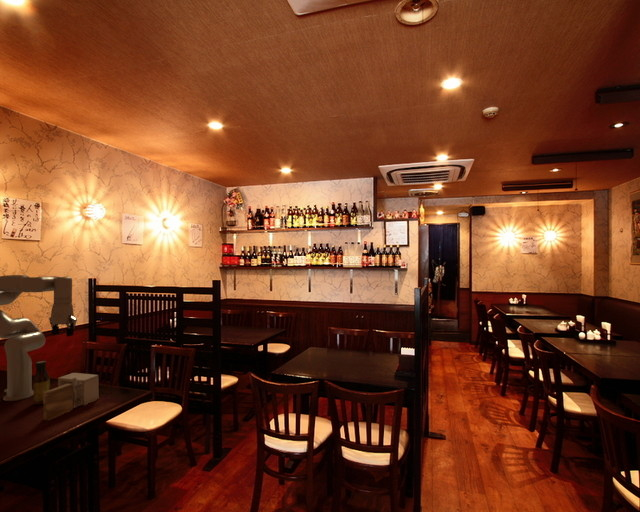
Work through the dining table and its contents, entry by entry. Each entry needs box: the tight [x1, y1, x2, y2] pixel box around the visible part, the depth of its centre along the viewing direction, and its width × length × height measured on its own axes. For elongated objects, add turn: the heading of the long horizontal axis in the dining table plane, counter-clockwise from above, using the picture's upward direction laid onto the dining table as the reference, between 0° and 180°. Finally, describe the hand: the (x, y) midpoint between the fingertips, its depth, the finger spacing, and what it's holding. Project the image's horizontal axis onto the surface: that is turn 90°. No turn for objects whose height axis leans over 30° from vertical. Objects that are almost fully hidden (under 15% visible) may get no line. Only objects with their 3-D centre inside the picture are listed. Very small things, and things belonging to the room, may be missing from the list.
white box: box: [57, 372, 100, 409], centre depth 172 cm, size 16×12×14 cm
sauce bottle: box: [32, 360, 51, 405], centre depth 172 cm, size 7×6×20 cm
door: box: [43, 383, 83, 422], centre depth 160 cm, size 4×15×12 cm, turn 165°
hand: (62, 335), depth 177 cm, fingers open, 9 cm apart
